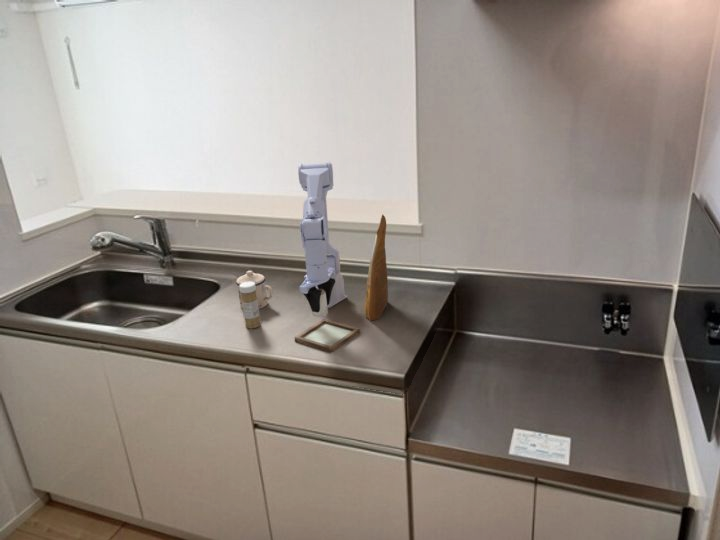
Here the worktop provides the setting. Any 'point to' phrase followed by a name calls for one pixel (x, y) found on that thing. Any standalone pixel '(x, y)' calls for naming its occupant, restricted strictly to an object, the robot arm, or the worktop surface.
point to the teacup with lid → (260, 288)
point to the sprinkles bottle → (250, 304)
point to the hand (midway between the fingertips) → (320, 307)
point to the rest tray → (327, 335)
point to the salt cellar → (322, 305)
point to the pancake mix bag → (377, 276)
